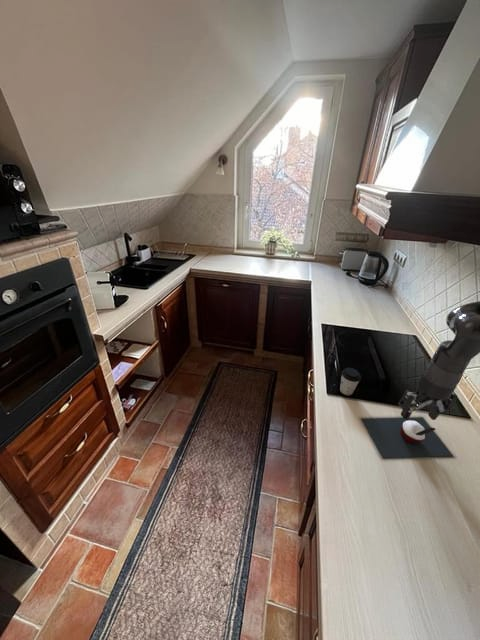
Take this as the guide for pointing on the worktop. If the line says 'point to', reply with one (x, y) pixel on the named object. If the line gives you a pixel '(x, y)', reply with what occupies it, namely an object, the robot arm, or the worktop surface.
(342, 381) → the coffee cup
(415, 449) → the mat
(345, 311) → the worktop surface
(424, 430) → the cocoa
